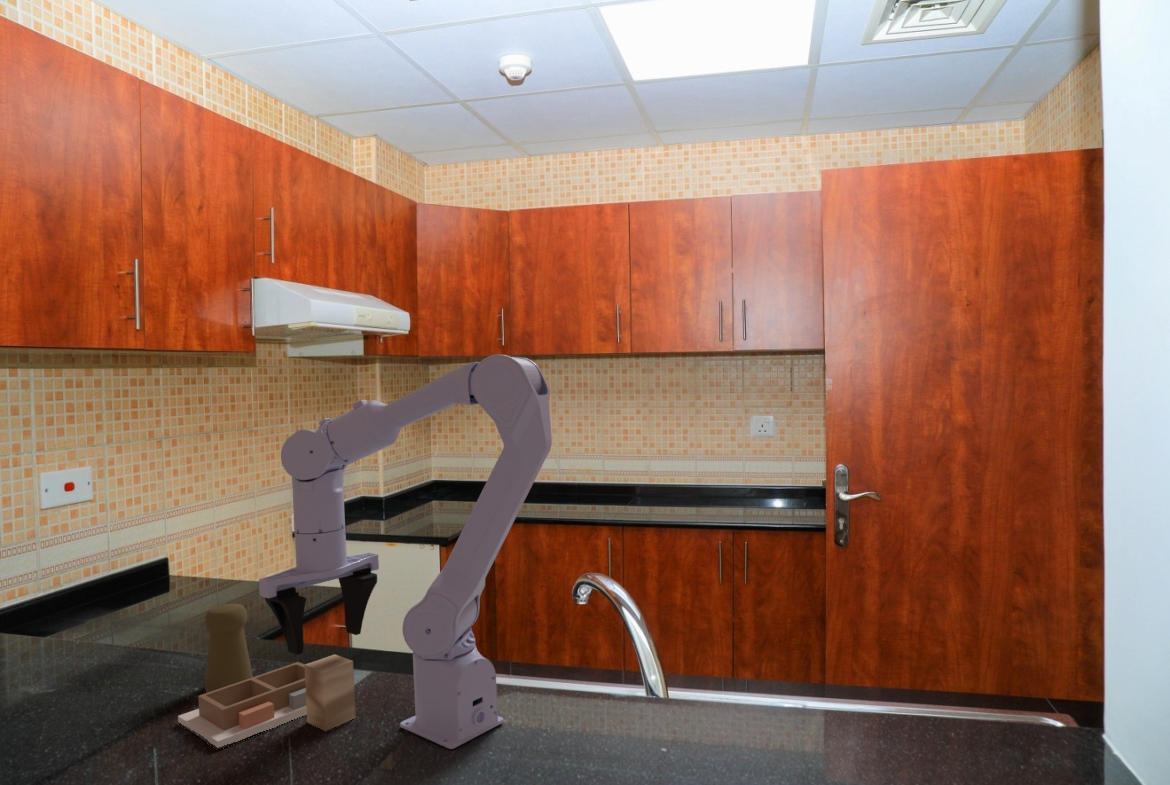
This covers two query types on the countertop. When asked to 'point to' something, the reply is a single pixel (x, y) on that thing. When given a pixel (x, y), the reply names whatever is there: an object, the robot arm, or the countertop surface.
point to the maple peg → (330, 692)
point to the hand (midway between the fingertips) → (325, 642)
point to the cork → (226, 647)
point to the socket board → (249, 706)
